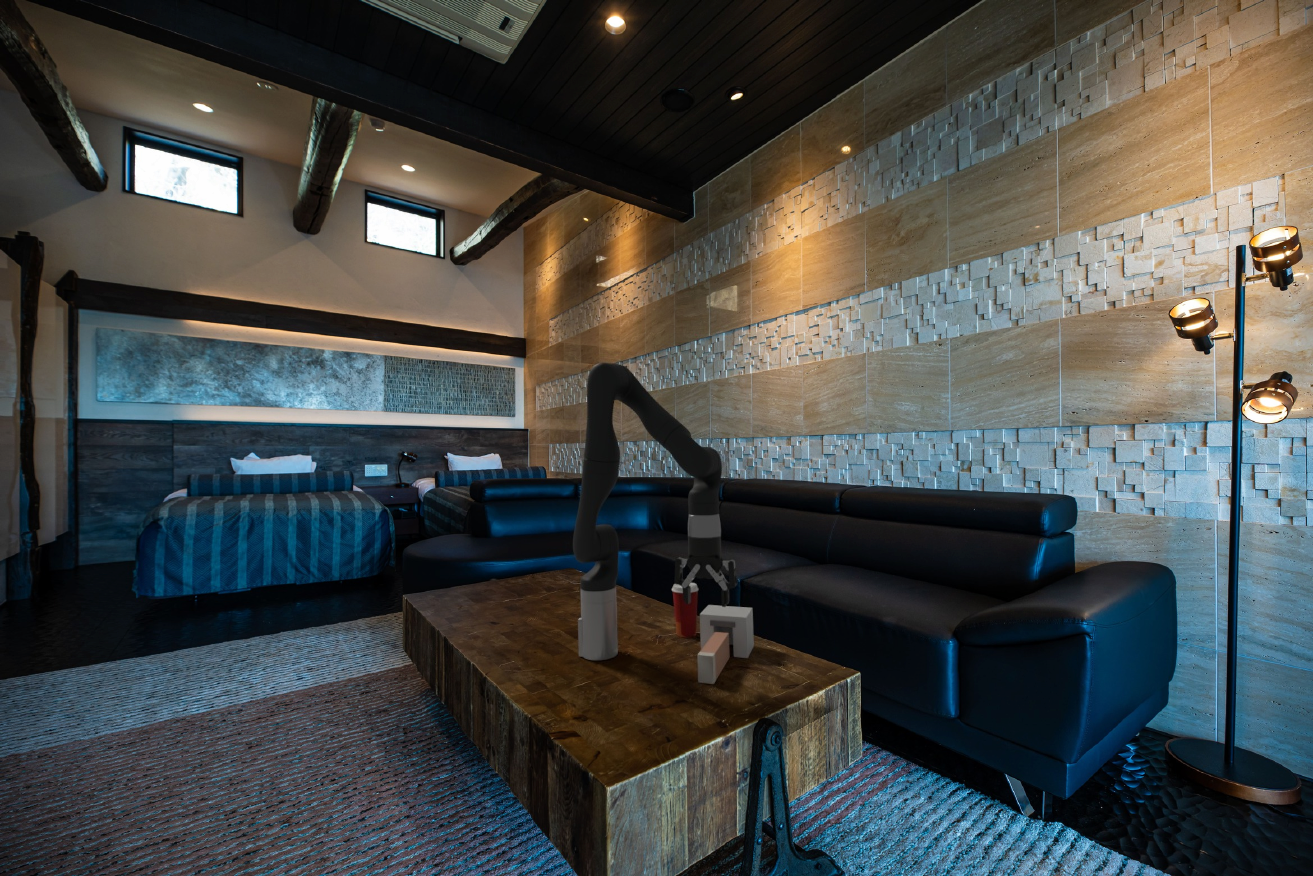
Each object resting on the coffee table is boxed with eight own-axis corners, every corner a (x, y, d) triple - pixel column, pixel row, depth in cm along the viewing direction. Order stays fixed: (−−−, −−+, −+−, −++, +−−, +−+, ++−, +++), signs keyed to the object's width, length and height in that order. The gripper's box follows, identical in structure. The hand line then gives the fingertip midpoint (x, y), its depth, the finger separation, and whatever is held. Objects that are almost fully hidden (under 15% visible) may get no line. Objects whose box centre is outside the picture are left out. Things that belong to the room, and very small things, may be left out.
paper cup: (704, 632, 155) (703, 583, 156) (691, 640, 149) (690, 589, 149) (681, 628, 160) (679, 580, 160) (667, 636, 153) (666, 586, 154)
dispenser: (700, 654, 138) (699, 614, 139) (709, 642, 147) (708, 604, 148) (747, 659, 134) (745, 618, 135) (753, 646, 143) (752, 607, 144)
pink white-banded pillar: (698, 682, 121) (697, 654, 121) (715, 656, 136) (715, 631, 136) (713, 684, 119) (712, 656, 120) (729, 657, 135) (728, 633, 135)
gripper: (669, 535, 123) (671, 607, 123) (731, 537, 119) (733, 611, 118) (679, 530, 131) (681, 598, 130) (738, 532, 126) (740, 602, 125)
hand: (706, 604), depth 124 cm, fingers open, 8 cm apart
